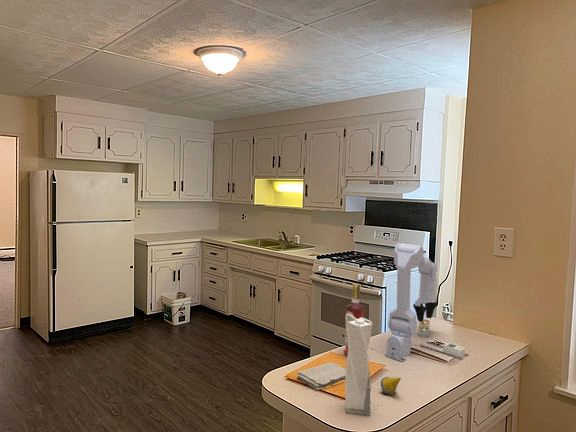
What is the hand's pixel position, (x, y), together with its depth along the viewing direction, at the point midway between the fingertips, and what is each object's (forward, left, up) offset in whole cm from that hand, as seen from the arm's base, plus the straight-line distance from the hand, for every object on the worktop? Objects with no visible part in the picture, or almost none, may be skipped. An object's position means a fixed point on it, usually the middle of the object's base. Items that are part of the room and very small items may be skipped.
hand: (424, 319), depth 189 cm
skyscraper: (-71, -17, -9) cm, 74 cm away
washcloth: (-63, +2, -9) cm, 64 cm away
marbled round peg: (0, 0, -9) cm, 9 cm away
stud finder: (-10, -19, -7) cm, 22 cm away
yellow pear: (-55, -19, -9) cm, 59 cm away
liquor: (-40, +8, -9) cm, 42 cm away
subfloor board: (-6, -16, -9) cm, 19 cm away
